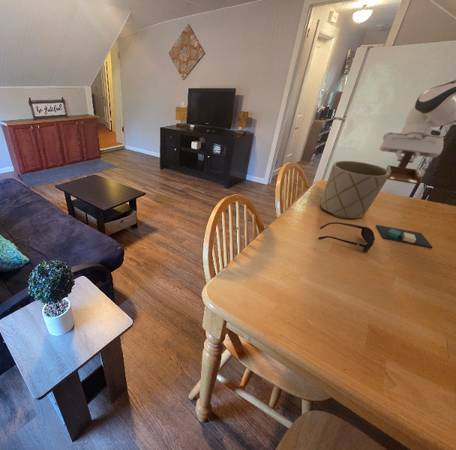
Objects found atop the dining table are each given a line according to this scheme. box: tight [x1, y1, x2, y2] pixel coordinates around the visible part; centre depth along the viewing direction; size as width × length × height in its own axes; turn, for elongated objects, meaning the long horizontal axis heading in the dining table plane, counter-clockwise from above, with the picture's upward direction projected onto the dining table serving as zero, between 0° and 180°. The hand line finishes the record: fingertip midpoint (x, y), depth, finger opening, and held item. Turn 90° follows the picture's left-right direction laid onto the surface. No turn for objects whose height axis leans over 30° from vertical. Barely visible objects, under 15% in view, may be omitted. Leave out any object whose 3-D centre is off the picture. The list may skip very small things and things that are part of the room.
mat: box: [376, 224, 433, 249], centre depth 93 cm, size 14×10×1 cm
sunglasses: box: [318, 221, 376, 253], centre depth 89 cm, size 14×16×5 cm
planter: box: [320, 160, 390, 219], centre depth 105 cm, size 19×19×20 cm
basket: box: [385, 150, 422, 185], centre depth 106 cm, size 14×10×10 cm
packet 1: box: [387, 229, 402, 238], centre depth 92 cm, size 4×3×2 cm
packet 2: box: [402, 232, 416, 243], centre depth 90 cm, size 4×3×2 cm
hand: (405, 161), depth 109 cm, fingers closed on basket, 2 cm apart
